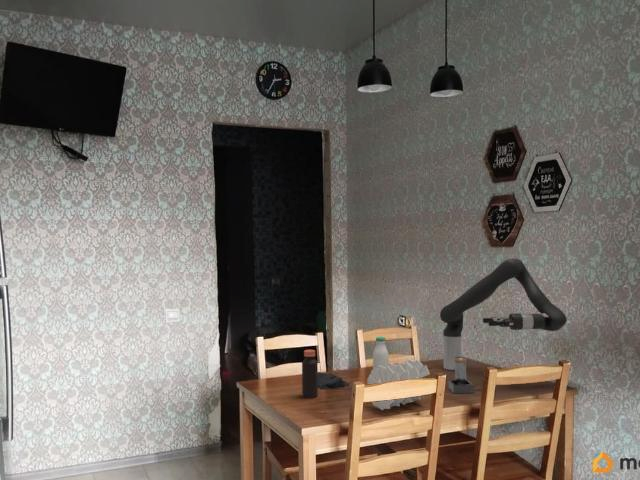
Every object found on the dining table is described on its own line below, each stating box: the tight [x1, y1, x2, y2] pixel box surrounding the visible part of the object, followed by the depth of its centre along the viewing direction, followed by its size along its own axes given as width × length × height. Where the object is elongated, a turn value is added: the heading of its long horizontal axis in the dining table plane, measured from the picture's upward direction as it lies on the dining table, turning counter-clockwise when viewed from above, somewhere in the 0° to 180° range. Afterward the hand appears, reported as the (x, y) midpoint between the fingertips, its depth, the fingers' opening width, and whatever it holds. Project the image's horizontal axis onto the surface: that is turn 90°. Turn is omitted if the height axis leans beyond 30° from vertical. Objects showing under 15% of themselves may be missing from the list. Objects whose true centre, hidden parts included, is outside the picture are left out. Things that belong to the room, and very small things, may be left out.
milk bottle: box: [372, 336, 390, 370], centre depth 284 cm, size 8×8×20 cm
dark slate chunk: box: [318, 371, 350, 391], centre depth 275 cm, size 15×22×5 cm
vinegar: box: [301, 349, 319, 399], centre depth 253 cm, size 7×7×20 cm
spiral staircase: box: [366, 358, 430, 411], centre depth 239 cm, size 18×18×25 cm
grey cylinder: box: [454, 356, 468, 385], centre depth 260 cm, size 5×5×14 cm
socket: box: [448, 379, 475, 394], centre depth 260 cm, size 9×9×4 cm
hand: (485, 322), depth 265 cm, fingers open, 8 cm apart
